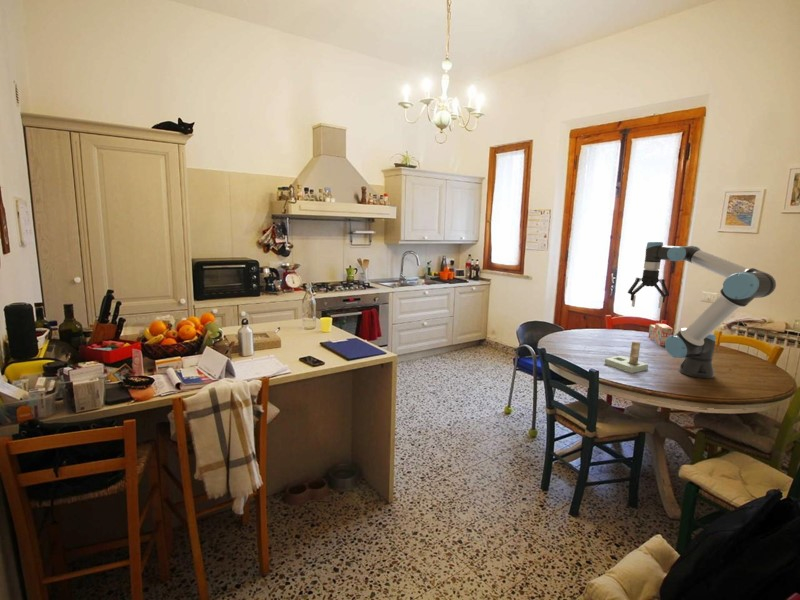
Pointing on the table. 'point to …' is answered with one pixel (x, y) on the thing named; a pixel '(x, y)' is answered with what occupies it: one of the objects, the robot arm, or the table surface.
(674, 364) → the table surface
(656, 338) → the stack of blocks
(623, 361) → the board
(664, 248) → the robot arm
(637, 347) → the peg
